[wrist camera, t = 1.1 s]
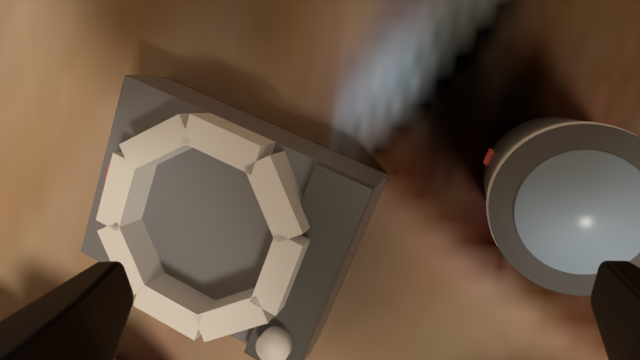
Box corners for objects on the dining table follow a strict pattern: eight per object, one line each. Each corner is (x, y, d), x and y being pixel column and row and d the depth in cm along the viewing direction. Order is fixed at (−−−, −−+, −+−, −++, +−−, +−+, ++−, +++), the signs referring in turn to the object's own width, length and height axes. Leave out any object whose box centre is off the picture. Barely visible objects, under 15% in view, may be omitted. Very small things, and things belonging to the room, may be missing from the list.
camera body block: (388, 174, 21) (367, 194, 17) (317, 339, 23) (284, 392, 19) (166, 77, 24) (99, 73, 19) (123, 234, 26) (55, 261, 22)
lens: (647, 145, 18) (731, 167, 12) (580, 260, 19) (628, 329, 14) (513, 95, 19) (532, 94, 13) (459, 207, 20) (455, 250, 15)
